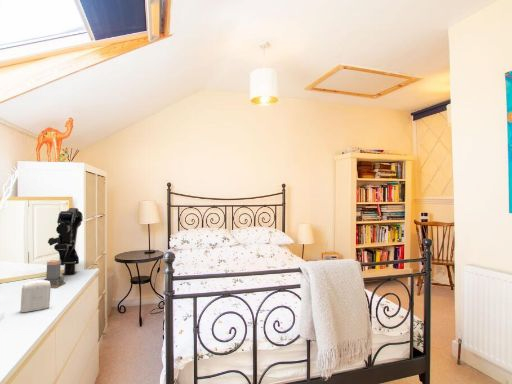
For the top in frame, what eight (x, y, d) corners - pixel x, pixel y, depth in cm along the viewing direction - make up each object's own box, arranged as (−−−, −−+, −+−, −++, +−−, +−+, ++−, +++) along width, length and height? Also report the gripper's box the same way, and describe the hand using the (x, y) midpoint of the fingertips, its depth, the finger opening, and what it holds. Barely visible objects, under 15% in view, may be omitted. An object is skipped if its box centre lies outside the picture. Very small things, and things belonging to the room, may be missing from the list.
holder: (48, 283, 171) (49, 276, 171) (65, 283, 171) (66, 276, 171) (38, 288, 162) (39, 280, 162) (56, 288, 162) (57, 280, 163)
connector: (50, 283, 169) (52, 260, 169) (59, 283, 169) (60, 260, 169) (45, 285, 164) (47, 261, 164) (54, 285, 164) (56, 262, 165)
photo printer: (48, 305, 137) (49, 277, 137) (50, 308, 134) (51, 279, 134) (19, 310, 130) (21, 281, 130) (21, 313, 126) (22, 283, 127)
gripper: (55, 230, 186) (54, 256, 185) (44, 234, 168) (42, 262, 168) (76, 230, 189) (75, 256, 189) (67, 234, 171) (65, 262, 171)
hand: (64, 259), depth 179 cm, fingers open, 9 cm apart
